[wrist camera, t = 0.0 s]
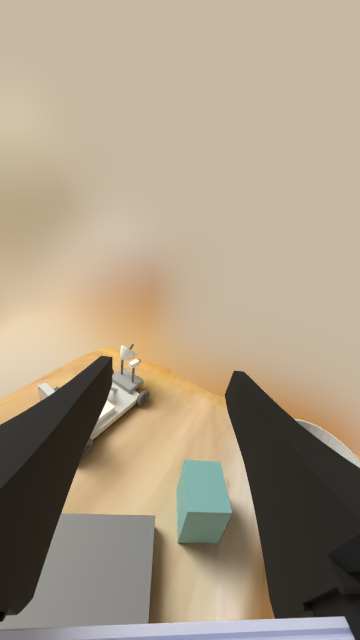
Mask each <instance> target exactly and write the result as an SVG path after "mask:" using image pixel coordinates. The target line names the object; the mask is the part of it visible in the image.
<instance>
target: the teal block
mask: <svg viewBox="0 0 360 640" xmlns="http://www.w3.org/2000/svg"><path fill="white" fill-rule="evenodd" d="M231 515H232V509H231V505H230V501H229V496H228V492H227V488H226V484H225V480H224V475H223V471H222V467H221V463H220V462H211V461H193V460H184V463H183V467H182V471H181V474H180V478H179V482H178V486H177V532H178V543H219V541H220V539H221V536H222V534H223V532H224V530H225V528H226V526H227V524H228V521H229V519H230V517H231Z"/></svg>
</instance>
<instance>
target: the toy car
mask: <svg viewBox="0 0 360 640" xmlns="http://www.w3.org/2000/svg"><path fill="white" fill-rule="evenodd" d="M132 347H133V344H132V345H131V347H130V348H127V347H125V346H123V345H121V350H120V357H121V360H122V361H121V370H120V371H118V372H117V373H115V374H114V371H113V369H112V387H111V390H110V393H109V396H108V399H107V401H106V404H105V406H104V408H103V410H102V412H101V415H100V417H99V419H98V421H97V423H96V425H95V427H94V430H93V432H92V434H91V436H90V438H89V440H88V442H87V445H86V447H85V449H84V452H83V454H82V457H83V456H84V455H85V454H87V453H88V452H90V450H91V449H92V447H93V439H95V438H96V437H97V436H98V435H99V434H100V433H102V432H103V431H104V430H105V429H106V428H108V427H109V426H110V425H111V424H112V423H113V422H115V421H116V420H117V419H118V418H119V417H121V416H122V415H123V414H124V413H125V412H126V411H128V410H129V409H130V408H131V407H132V406H134V405H135V404H137V405H138V406H141V405H142V404H143V403H144V402H146V401H147V399H148V397H149V393H148V392H147V391H146V390H143V391H142V392H141V393H140V394H139V393H138V392H136V391H135V390H136V389H137V388H138V387H140V386H141V385H142V384H143V381H144V380H143V379H141V378H139V377H138V376H136V375H135V374H134V370H135V367H137V366H138V365H139V362H141V360H140V359H139V360H137V359H135V360H133V361H131V362H129V365H128V367H129V368H131V369H133V370H132V373H131V372H130V371H128V370H126V369H125V368H124V369H123V361H127V360H130V359H131V358H133V357H135V356H136V355H137V354H136V353H135V352H133V351H132V350H131V348H132ZM38 388H39V395H40V401H42V400H43V399H45V398H46V397H48V396H49V395H51V394H52V393H54V392H55V391H56V390H58V389H59V388H58V387H56V388H55V389H54V390H53V389H52V388H51V387H50V386H49V385H48V384H47V383H46V382H45V383H43V384H41V385H39V386H38ZM82 457H81V458H82Z"/></svg>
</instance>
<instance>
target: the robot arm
mask: <svg viewBox="0 0 360 640" xmlns="http://www.w3.org/2000/svg"><path fill="white" fill-rule="evenodd" d="M111 387H112V357H107V356H101V357H99V358H98V359H97V360H95V361H94V362H93V363H92V364H91V365H89V366H88V367H87V368H86V369H84V370H83V371H82V372H81V373H79V374H78V375H77V376H75V377H74V378H73V379H72V380H70V381H69V382H68V383H66V384H65V385H64V386H62V387H61V388H59V389H58V390H56V391H55V392H54V393H52V394H51V395H49V396H48V397H46V398H45V399H43V400H42V401H40V402H39V403H37V404H36V405H34V406H32V407H31V408H29V409H28V410H26V411H24V412H23V413H21V414H19V415H17V416H16V417H14V418H12V419H10V420H8V421H7V422H5V423H3V424H1V425H0V622H3V620H4V619H5V617H6V616H7V615H18V614H19V613H20V612H21V611H22V610H23V609H24V608H25V607H26V606H27V605H28V604H29V602H30V601H31V600H32V599H33V597H34V594H35V590H36V587H37V584H38V581H39V578H40V575H41V572H42V569H43V566H44V563H45V560H46V557H47V553H48V550H49V547H50V544H51V541H52V538H53V535H54V532H55V530H56V527H57V524H58V521H59V518H60V515H61V512H62V509H63V506H64V503H65V501H66V498H67V495H68V492H69V489H70V487H71V484H72V481H73V478H74V475H75V473H76V470H77V467H78V465H79V462H80V459H81V457H82V454H83V452H84V449H85V447H86V445H87V442H88V440H89V438H90V436H91V434H92V432H93V430H94V427H95V425H96V423H97V421H98V419H99V417H100V415H101V412H102V410H103V408H104V406H105V404H106V401H107V399H108V396H109V393H110V390H111ZM225 399H226V404H227V409H228V413H229V417H230V420H231V423H232V426H233V429H234V432H235V435H236V438H237V441H238V444H239V448H240V451H241V454H242V457H243V461H244V464H245V468H246V473H247V477H248V481H249V485H250V490H251V495H252V500H253V504H254V509H255V514H256V519H257V525H258V530H259V535H260V541H261V546H262V552H263V558H264V564H265V571H266V577H267V583H268V590H269V597H270V602H271V605H272V609H273V613H274V617H275V619H262V620H235V621H208V622H181V623H155V624H128V625H101V626H75V627H48V628H21V629H0V640H360V468H359V467H358V466H356V465H355V464H353V463H352V462H350V461H349V460H347V459H346V458H344V457H343V456H341V455H340V454H339V453H337V452H336V451H334V450H333V449H332V448H330V447H329V446H328V445H326V444H325V443H323V442H322V441H321V440H319V439H318V438H317V437H315V436H314V435H313V434H312V433H310V432H309V431H308V430H307V429H305V428H304V427H303V426H302V425H300V424H299V423H298V422H297V421H296V420H294V419H293V418H292V417H291V416H290V415H289V414H288V413H286V412H285V411H284V410H283V409H282V408H281V407H280V406H279V405H278V404H277V403H275V402H274V401H273V400H272V399H271V398H270V397H269V396H268V395H267V394H266V393H265V392H264V391H263V390H262V389H261V388H260V387H259V386H258V385H257V384H256V383H255V382H254V381H253V380H252V379H251V378H250V377H249V376H248V375H247V374H246V373H245V372H242V371H234V372H233V375H232V377H231V380H230V383H229V386H228V388H227V391H226V393H225Z"/></svg>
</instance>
